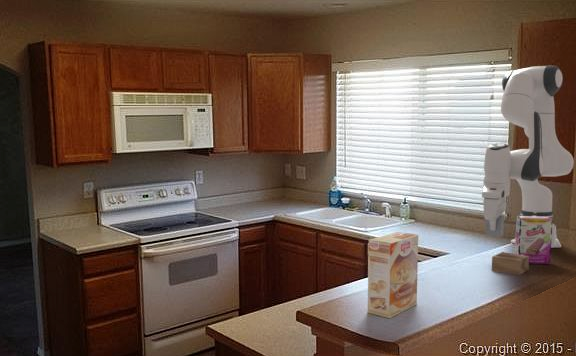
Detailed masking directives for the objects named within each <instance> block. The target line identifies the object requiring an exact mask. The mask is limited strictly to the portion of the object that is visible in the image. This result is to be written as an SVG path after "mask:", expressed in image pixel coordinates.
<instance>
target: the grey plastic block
mask: <svg viewBox="0 0 576 356" xmlns="http://www.w3.org/2000/svg"><path fill="white" fill-rule="evenodd" d="M485 221H486V222H485V224H486V225H485V226H486V227H485V237H490V238H502V237H503V236H504V229H505V228H504V226H505V215H502V214H501V215H500V216H499V217H498V218H497V219H496V230H495V231H493V230H490V222H489V220H485Z"/></svg>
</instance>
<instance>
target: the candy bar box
mask: <svg viewBox="0 0 576 356" xmlns="http://www.w3.org/2000/svg"><path fill="white" fill-rule="evenodd" d="M553 220H554V218H553V219H552V218H550V217H541V216H521V215H517V216H516V220H515V222H516V223H515V237H516V239H515V238H514V239H515V243H514V246H515V247H514V254H519V255H525V256H529V264H531V265H534V264H536V265H550V264H551V254H552V253H551V252H552V248H551V239H552V223H553ZM553 224H554V223H553Z"/></svg>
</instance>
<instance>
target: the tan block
mask: <svg viewBox="0 0 576 356" xmlns="http://www.w3.org/2000/svg"><path fill="white" fill-rule="evenodd" d="M529 266H530V265H529V256H525V255H519V254H515V253H510V252H505V251H501V252H500V253H497V254H495V255H492V257H491V271H492V272H498V273H504V274H510V275H515V276H520V275H522V274H524V273H526V272H527V271H529V268H530V267H529Z"/></svg>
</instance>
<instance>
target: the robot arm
mask: <svg viewBox="0 0 576 356" xmlns="http://www.w3.org/2000/svg"><path fill="white" fill-rule="evenodd" d="M501 85H502V86H501V87H502V91H503V93H502V97H501V104H500V112H501V115H502V117H503V118H504V119H505V120H506V121H508V122H509V123H511V124H513V125H514V126H517V127H520V128H523V129H524V130H523V131H524V134H525V136H526V137H527V138H528V148H520V149H515V150H511V147H510V145H509V144H508V143H507V144H506V143H500V142H499V143H498V142H497V143H492V144H491V143H490V144H489V145H488V146H487V147H486V148H485V149H486V150H485V154H484V155H485V156H484V161H483V171H484V177H483V183H482V184H483V188H482V191H481V198H483V201H482V202H483V217H484V220H485V221H486V220H489V222H490V230H493V231H495V230H496V219H497V218H498V217H499V216H500V215H502V214H504V213H505V212H506V209H507V197H509V196H510V194H511V180H516V181H517V182H518V185H519V187H520V190H521V199H522V201H521V207H522V208H521V210H520V215H519V216H541V217H550V218H552V219H553V220H554V211H553V192H552V191H551V189H550V188H548V187H547V186H546V185H543V184H541V183H539V180H538V179H539V178H540V177H561V176H566V175H569V174H570V173H571V172H572V170H573V168H574V164H575V162H574V161H575V160H574V157H573V155H572V154H571V153H570V152H569V150H567V149H566V148H565V147H564V146H562V144H561V143H560V142H559V139H558V137H557V134H556V123H555V122H556V121H555V120H556V119H555V118H556V117H555V116H556V114H555V113H556V111H555V100H554V98H555V97H554V96H555V95H556V93H557V92H559V90H560V89H561V87H562V86H563V73H562V70H561V68H559V67H558V66H557V65H552V64H551V65H550V64H548V65H538V66H535V65H534V66H530V67H524V68H519V69H512V70H509V71H507V72H506V73H505V74H504V75H503V77H502V80H501ZM515 239H516V236H515V238H513V239H511V240H510V243H511V244H515ZM552 248H553V249H554V248H562V244H561V243H560V240H559V239H558V234H557V226H556V224H554V223H552V239H551V249H552Z"/></svg>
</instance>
